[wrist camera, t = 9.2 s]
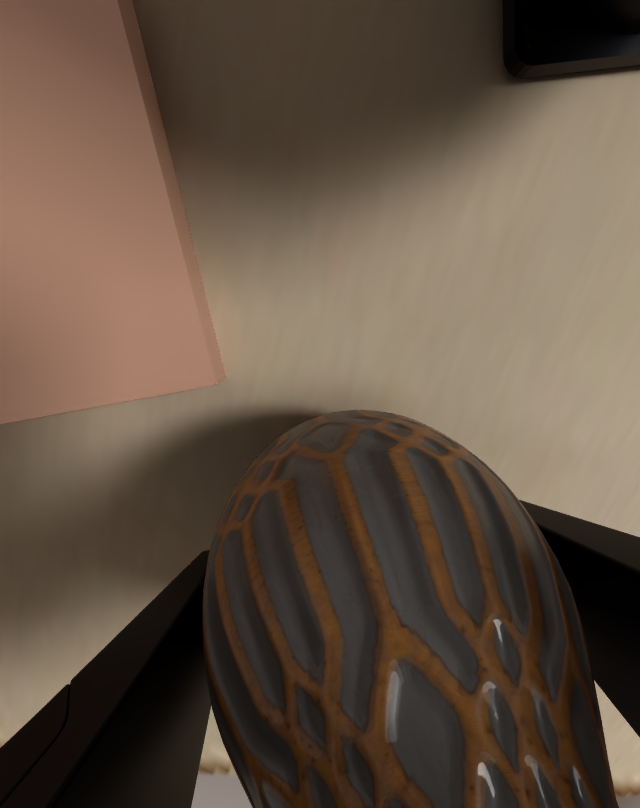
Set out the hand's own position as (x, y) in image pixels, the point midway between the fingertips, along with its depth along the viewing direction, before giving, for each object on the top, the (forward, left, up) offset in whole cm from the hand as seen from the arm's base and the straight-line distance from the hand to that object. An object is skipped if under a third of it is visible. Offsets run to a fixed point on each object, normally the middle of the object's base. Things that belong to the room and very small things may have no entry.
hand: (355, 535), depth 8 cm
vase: (0, 0, -3) cm, 3 cm away
